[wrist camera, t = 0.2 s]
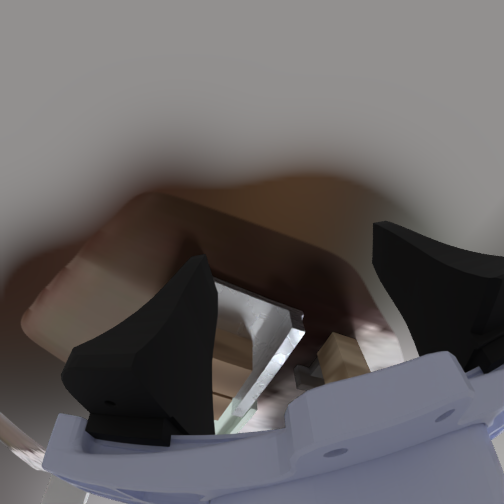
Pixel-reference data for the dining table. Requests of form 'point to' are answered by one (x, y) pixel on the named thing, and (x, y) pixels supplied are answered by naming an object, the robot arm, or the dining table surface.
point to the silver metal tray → (258, 335)
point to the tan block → (332, 363)
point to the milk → (63, 493)
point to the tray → (233, 420)
